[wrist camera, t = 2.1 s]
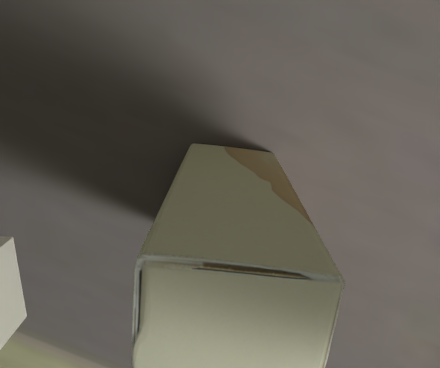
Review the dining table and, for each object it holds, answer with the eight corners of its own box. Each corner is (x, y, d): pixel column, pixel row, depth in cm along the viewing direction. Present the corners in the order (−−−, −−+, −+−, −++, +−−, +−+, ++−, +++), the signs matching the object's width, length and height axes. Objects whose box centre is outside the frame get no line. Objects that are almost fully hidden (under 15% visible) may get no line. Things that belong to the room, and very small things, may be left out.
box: (260, 241, 19) (303, 466, 9) (180, 233, 19) (124, 449, 8) (276, 146, 17) (354, 280, 7) (188, 136, 17) (129, 258, 7)
